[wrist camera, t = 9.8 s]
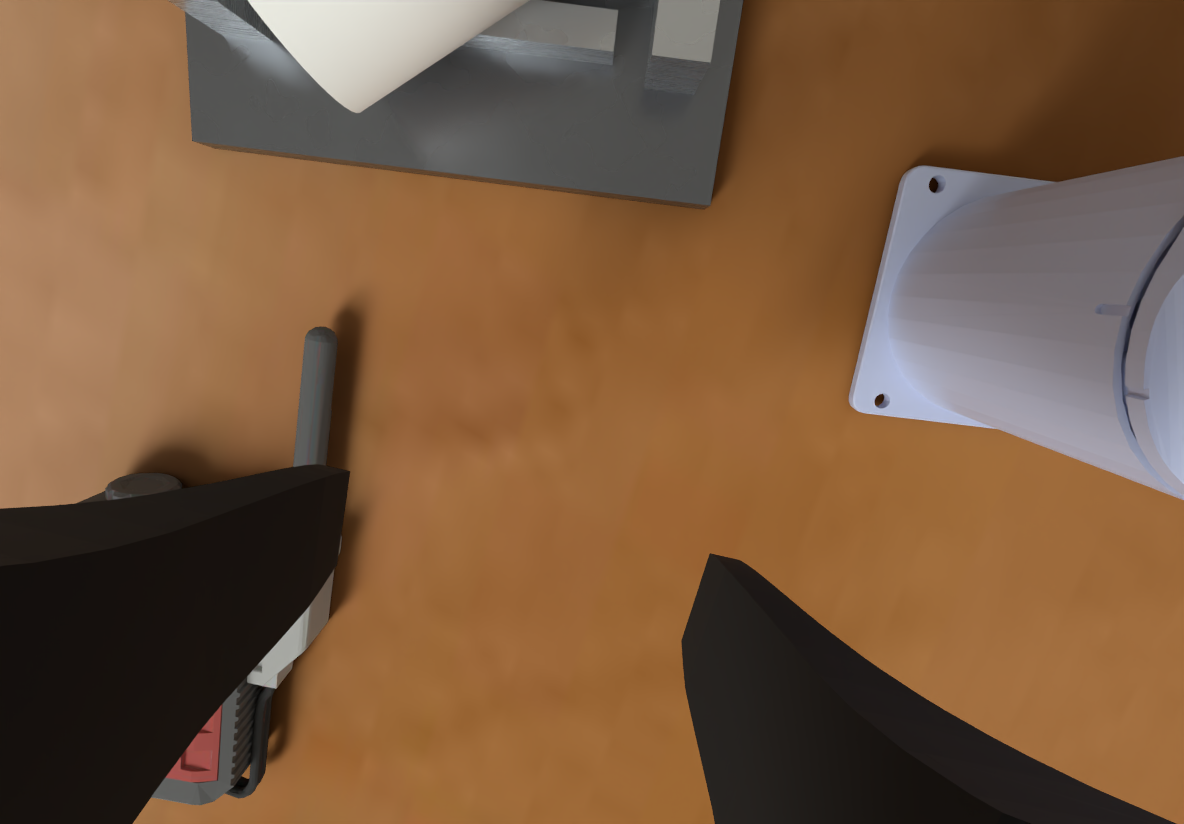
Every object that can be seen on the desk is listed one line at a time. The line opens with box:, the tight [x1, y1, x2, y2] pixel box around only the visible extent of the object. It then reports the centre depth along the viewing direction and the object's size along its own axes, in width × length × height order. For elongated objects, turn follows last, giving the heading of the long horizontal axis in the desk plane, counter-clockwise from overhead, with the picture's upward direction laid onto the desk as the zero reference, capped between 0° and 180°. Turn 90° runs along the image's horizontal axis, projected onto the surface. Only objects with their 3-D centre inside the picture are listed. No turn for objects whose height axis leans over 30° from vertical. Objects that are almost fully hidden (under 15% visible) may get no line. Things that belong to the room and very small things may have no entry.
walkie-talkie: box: [76, 327, 342, 805], centre depth 19 cm, size 9×4×20 cm
